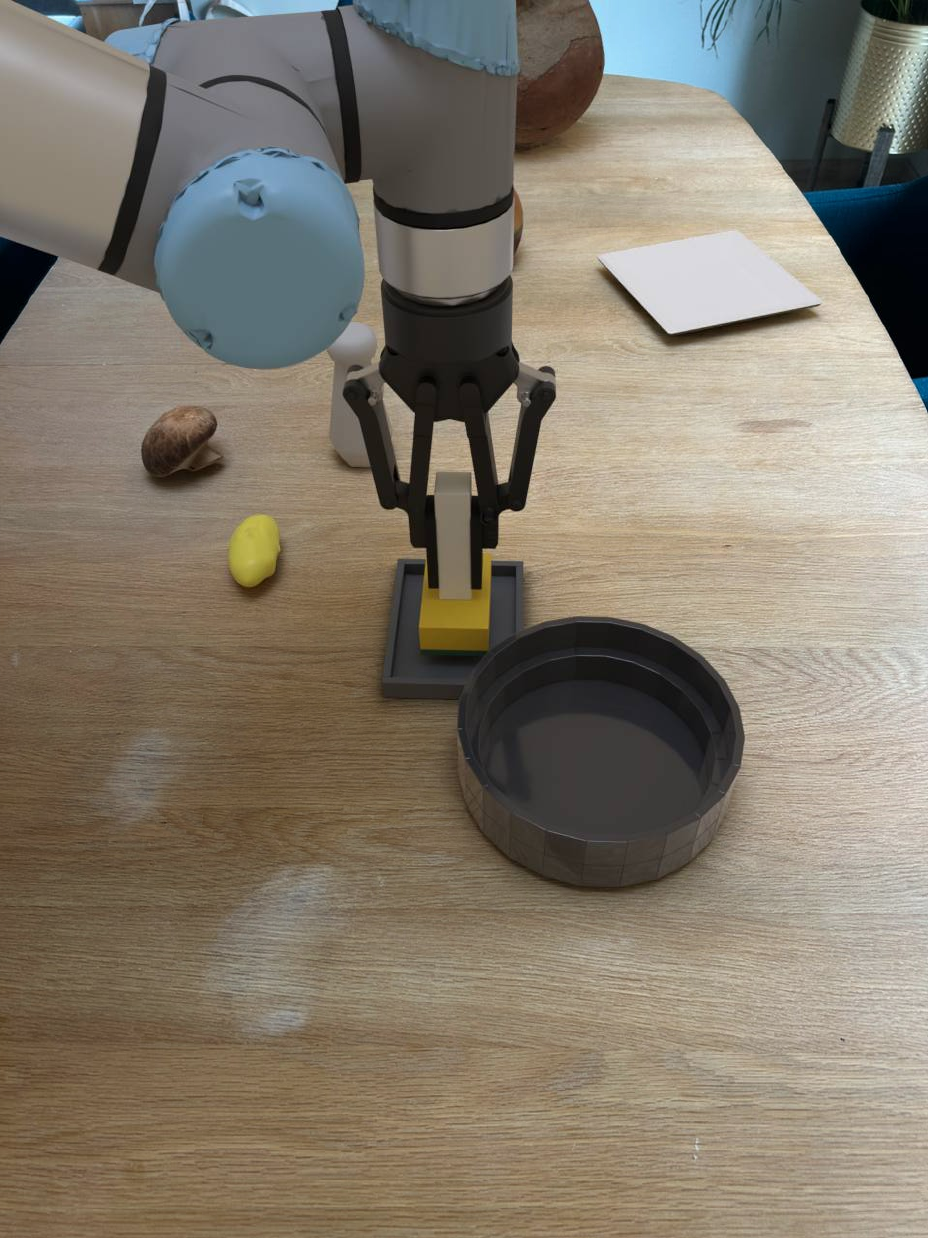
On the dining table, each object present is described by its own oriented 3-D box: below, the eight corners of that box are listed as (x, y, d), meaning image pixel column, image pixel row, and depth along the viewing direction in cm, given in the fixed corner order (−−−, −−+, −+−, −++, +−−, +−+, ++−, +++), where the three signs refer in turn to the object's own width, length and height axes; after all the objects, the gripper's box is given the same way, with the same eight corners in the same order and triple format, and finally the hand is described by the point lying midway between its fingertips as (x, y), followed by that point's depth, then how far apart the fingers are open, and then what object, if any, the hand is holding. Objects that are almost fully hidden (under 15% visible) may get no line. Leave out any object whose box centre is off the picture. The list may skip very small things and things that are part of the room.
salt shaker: (325, 444, 95) (307, 320, 85) (382, 430, 96) (371, 306, 87) (343, 479, 91) (327, 353, 82) (402, 464, 92) (393, 339, 83)
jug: (587, 110, 153) (604, -132, 131) (609, 167, 138) (632, -95, 117) (446, 115, 153) (440, -127, 131) (453, 173, 138) (446, -89, 116)
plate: (666, 349, 106) (669, 331, 104) (594, 270, 118) (595, 253, 116) (820, 317, 110) (825, 300, 108) (734, 244, 122) (738, 227, 120)
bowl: (404, 767, 69) (399, 712, 65) (584, 634, 77) (590, 579, 73) (601, 951, 60) (610, 902, 55) (782, 777, 68) (802, 723, 64)
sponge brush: (488, 656, 73) (488, 521, 64) (420, 655, 74) (411, 520, 64) (491, 580, 79) (491, 446, 70) (428, 579, 79) (420, 445, 70)
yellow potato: (292, 535, 86) (285, 500, 83) (272, 601, 80) (264, 566, 78) (244, 533, 86) (236, 498, 83) (221, 599, 81) (211, 564, 78)
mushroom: (251, 440, 90) (200, 389, 87) (191, 505, 88) (137, 455, 85) (227, 437, 97) (178, 389, 94) (170, 497, 95) (119, 450, 92)
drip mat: (522, 701, 73) (522, 686, 72) (383, 697, 73) (381, 682, 72) (522, 575, 82) (523, 560, 81) (399, 573, 82) (397, 558, 81)
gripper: (581, 243, 58) (560, 543, 75) (319, 242, 59) (357, 540, 76) (587, 308, 53) (563, 615, 70) (299, 306, 54) (344, 610, 71)
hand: (455, 575), depth 73 cm, fingers closed on sponge brush, 2 cm apart
